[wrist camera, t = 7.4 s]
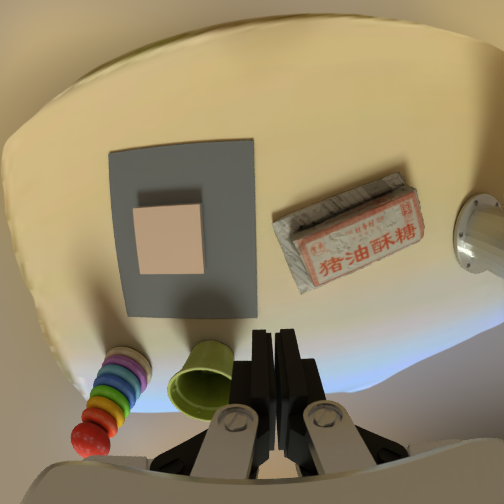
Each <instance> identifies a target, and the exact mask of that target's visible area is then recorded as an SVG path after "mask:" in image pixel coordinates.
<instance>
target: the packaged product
mask: <svg viewBox="0 0 504 504" xmlns="http://www.w3.org/2000/svg"><path fill="white" fill-rule="evenodd" d="M420 210H421V207H420V202H419V200H418V195H417V190H416V189H415V188H413V187H409V186H407V185H406V182H405V179H404V176H403V175H402V174H401V173H400V172H398V173H394V174H391V175H389V176H387V177H384V178H382V179H380V180H377V181H374V182H371V183H368V184H365V185H362V186H359V187H356V188H354V189H351V190H348V191H346V192H343V193H340V194H338V195H335V196H332V197H330V198H327V199H325V200H322V201H320V202H317V203H315V204H312V205H310V206H307V207H305V208H303V209H300V210H298V211H295V212H293V213H291V214H288V215H286V216H284V217H282V218H280V219H278V220H276V221H275V222H273V223H272V226H273V229H274V232H275V235H276V237H277V239H278V241H279V243H280V245H281V248H282V250H283V252H284V255H285V258H286V261H287V264H288V266H289V269H290V271H291V274H292V276H293V279H294V281H295V283H296V285H297V287H298V289H299V291H300V293H301V295H302V294H304V293H306V292H308V291H310V290H313V289H317V288H319V287H321V286H323V285H325V284H327V283H329V282H332V281H334V280H336V279H339V278H341V277H344V276H346V275H349V274H351V273H353V272H355V271H358V270H360V269H362V268H365V267H367V266H369V265H371V264H372V263H374V262H375V261H379V260H382V259H384V258H386V257H388V256H390V255H392V254H394V253H396V252H398V251H401V250H403V249H405V248H407V247H409V246H411V245H413V244H415V243H417V242H419V241H420V240H421V239H422V238H423V236H424V228H425V225H424V223H423V217H422V213H421V211H420Z"/></svg>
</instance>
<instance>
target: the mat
mask: <svg viewBox="0 0 504 504" xmlns="http://www.w3.org/2000/svg"><path fill="white" fill-rule="evenodd" d="M108 157H109V181H110V196H111V208H112V219H113V228H114V237H115V245H116V252H117V259H118V266H119V272H120V278H121V284H122V289H123V295H124V300H125V305H126V310H127V315H128V316H129V317H152V318H196V319H229V318H257V271H256V222H255V176H254V140H251V141H223V142H206V143H192V144H180V145H170V146H160V147H152V148H144V149H136V150H129V151H122V152H116V153H109V154H108ZM201 202H202V204H203V223H204V240H205V255H206V270H205V272H204V274H140V269H139V262H138V254H137V246H136V237H135V228H134V218H133V208H135V207H138V206H150V205H165V204H182V203H201Z"/></svg>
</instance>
